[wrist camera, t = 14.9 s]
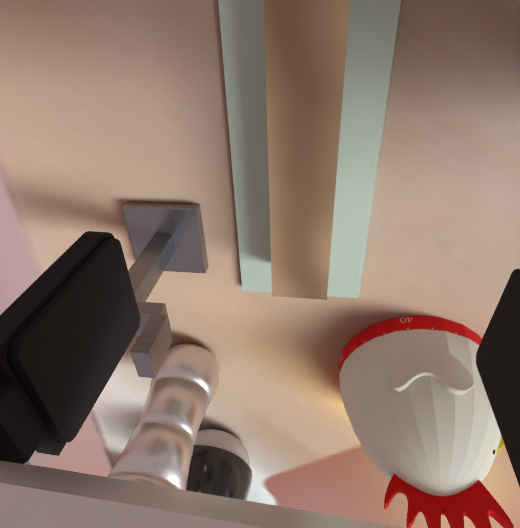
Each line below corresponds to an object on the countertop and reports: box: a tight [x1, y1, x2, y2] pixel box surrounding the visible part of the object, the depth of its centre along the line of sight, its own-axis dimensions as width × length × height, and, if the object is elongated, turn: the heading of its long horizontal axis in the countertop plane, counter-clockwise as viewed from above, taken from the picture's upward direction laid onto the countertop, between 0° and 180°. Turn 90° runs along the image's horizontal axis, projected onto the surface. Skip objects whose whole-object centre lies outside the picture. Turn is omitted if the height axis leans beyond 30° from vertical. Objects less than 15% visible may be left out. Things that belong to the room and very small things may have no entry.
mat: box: [218, 0, 401, 298], centre depth 24 cm, size 10×32×1 cm, turn 2°
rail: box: [264, 0, 350, 300], centre depth 23 cm, size 4×26×4 cm, turn 2°
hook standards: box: [122, 202, 208, 378], centre depth 21 cm, size 7×28×14 cm, turn 2°
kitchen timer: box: [339, 316, 514, 528], centre depth 32 cm, size 14×14×15 cm
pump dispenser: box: [186, 429, 252, 501], centre depth 44 cm, size 10×10×15 cm
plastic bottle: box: [108, 344, 219, 490], centre depth 33 cm, size 6×7×20 cm
